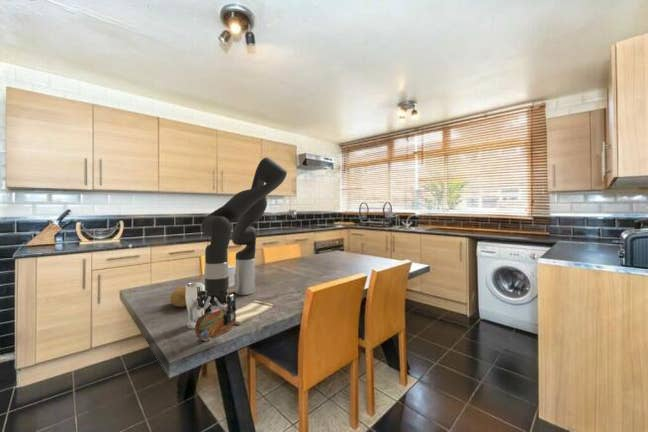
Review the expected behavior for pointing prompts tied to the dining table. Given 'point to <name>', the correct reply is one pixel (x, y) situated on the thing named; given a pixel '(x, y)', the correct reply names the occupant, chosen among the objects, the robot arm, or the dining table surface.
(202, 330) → the tin
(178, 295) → the potato
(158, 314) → the dining table surface
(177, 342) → the dining table surface
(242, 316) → the board
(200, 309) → the beer glass
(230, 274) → the light bulb box
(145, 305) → the dining table surface
